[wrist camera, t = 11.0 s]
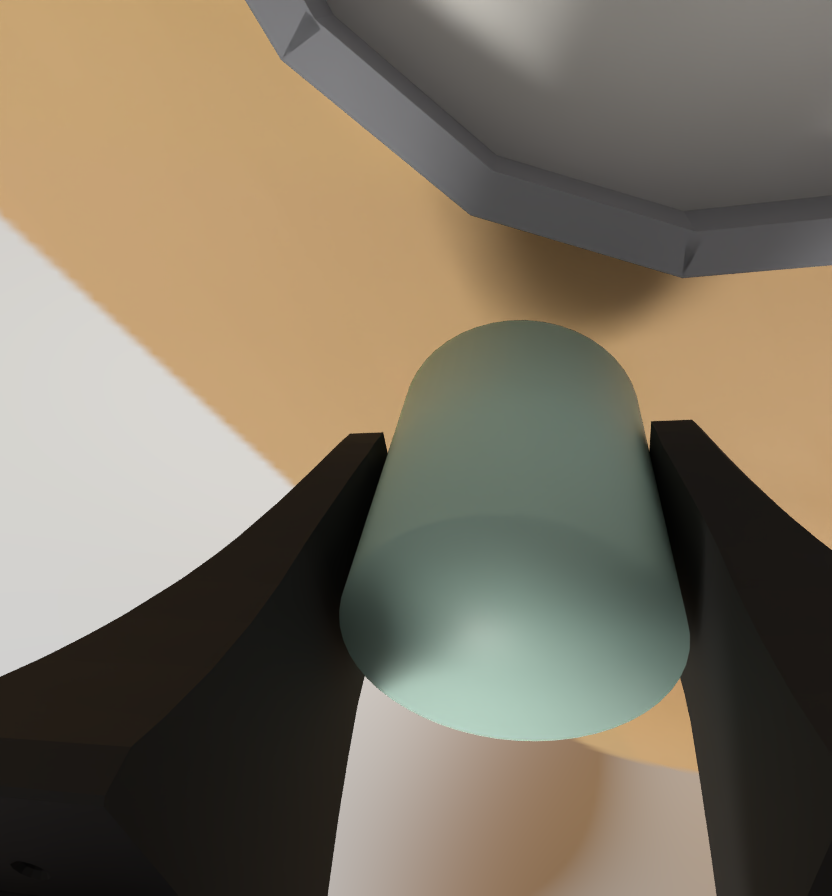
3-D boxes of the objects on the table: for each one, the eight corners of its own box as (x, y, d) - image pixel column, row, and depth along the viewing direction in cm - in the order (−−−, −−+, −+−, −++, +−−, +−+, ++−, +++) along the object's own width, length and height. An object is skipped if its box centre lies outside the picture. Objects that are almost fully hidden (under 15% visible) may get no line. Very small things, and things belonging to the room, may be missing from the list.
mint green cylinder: (645, 309, 11) (707, 511, 7) (635, 513, 13) (677, 750, 9) (385, 330, 12) (301, 517, 8) (422, 516, 14) (374, 732, 10)
